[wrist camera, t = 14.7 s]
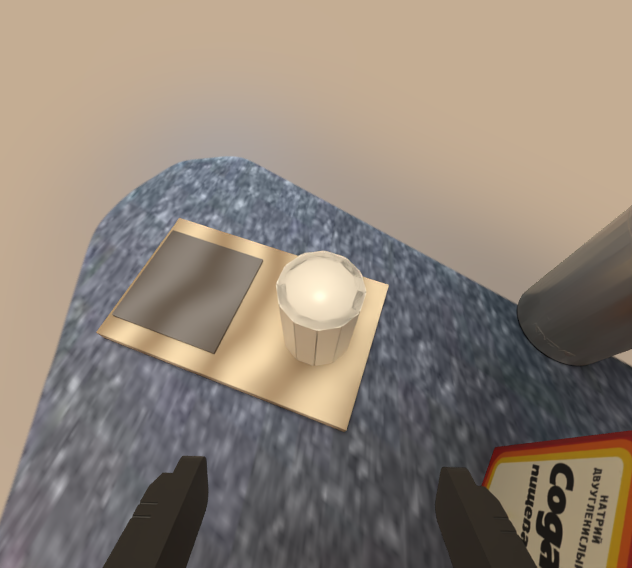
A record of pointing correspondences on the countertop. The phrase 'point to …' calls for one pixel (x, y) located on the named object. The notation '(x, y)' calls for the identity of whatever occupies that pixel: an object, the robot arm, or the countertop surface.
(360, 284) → the cover cup
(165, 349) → the board
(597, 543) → the red cream cardboard box
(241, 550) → the countertop surface
